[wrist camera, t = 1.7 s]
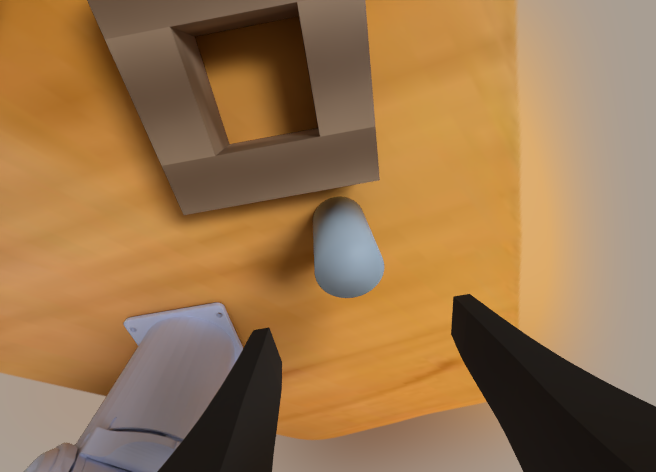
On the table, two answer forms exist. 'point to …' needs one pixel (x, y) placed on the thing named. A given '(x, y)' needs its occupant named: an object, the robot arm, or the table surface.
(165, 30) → the socket block
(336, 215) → the peg
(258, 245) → the table surface
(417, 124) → the table surface
